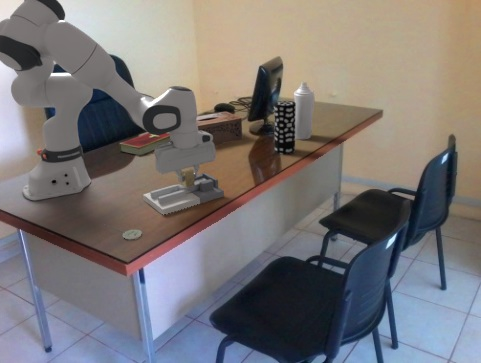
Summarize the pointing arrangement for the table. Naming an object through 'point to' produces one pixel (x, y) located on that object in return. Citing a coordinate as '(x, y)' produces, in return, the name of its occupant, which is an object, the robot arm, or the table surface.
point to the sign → (130, 233)
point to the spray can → (303, 111)
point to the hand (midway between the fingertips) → (187, 179)
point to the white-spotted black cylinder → (285, 127)
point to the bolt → (189, 181)
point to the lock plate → (183, 195)
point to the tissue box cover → (221, 126)
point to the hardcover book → (144, 143)
